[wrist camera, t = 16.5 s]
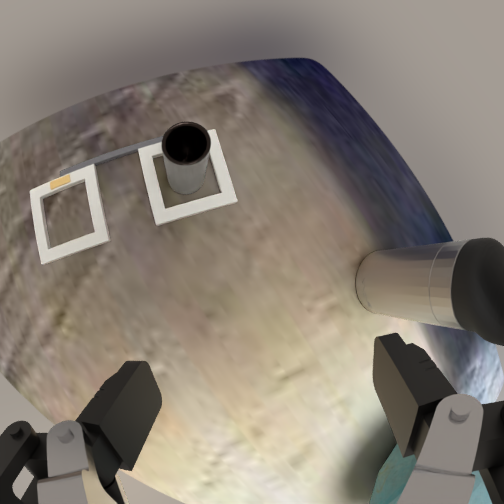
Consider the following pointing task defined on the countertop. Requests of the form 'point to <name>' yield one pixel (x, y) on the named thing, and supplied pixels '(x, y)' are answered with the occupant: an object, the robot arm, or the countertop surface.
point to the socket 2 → (192, 207)
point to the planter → (186, 156)
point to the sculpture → (398, 474)
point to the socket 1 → (96, 208)
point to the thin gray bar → (111, 155)
